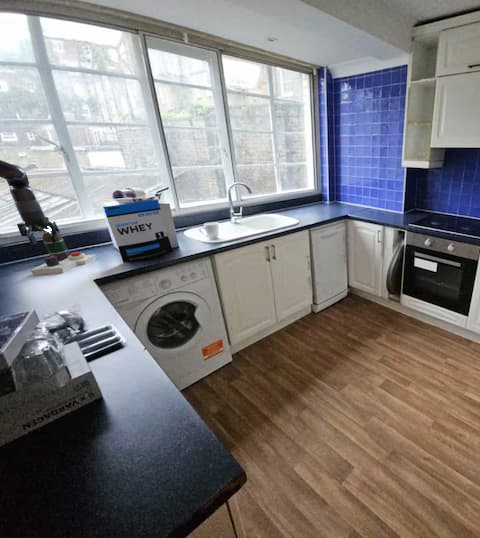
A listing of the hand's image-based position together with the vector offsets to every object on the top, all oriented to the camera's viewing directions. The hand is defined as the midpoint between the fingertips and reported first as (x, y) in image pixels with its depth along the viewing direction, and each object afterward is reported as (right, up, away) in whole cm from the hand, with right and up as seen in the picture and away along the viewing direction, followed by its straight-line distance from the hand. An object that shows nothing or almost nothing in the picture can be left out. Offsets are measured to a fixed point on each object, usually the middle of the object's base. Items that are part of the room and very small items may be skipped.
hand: (45, 243), depth 141 cm
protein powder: (+32, -5, +25) cm, 41 cm away
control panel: (-4, -13, +8) cm, 16 cm away
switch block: (-2, -8, +19) cm, 21 cm away
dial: (-4, -10, +7) cm, 13 cm away
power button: (-2, -5, +18) cm, 19 cm away
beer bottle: (-16, -7, +24) cm, 30 cm away
